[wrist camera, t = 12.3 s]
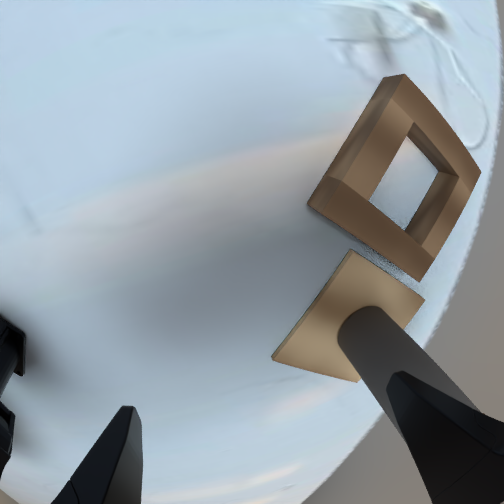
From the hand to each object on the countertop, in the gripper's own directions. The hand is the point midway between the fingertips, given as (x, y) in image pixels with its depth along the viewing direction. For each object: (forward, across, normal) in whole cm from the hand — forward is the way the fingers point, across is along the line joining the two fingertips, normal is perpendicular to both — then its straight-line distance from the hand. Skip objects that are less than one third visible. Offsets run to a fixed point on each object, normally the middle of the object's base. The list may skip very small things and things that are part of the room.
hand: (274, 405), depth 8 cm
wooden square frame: (+12, -12, -6) cm, 18 cm away
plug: (+11, -11, +7) cm, 18 cm away
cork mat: (+12, -11, +7) cm, 18 cm away
